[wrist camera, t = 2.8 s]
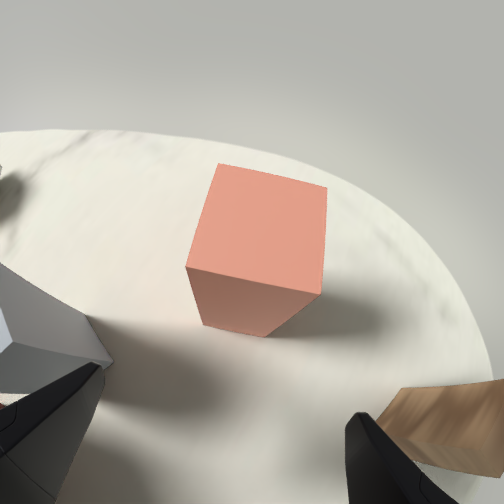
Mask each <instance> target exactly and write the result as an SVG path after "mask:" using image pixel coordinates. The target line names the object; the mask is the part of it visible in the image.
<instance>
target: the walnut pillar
mask: <svg viewBox="0 0 504 504" xmlns="http://www.w3.org/2000/svg"><path fill="white" fill-rule="evenodd" d="M375 422H376V423H377V424H378V425H379V426H380V427H381V428H382V429H383V431H384V432H385V433H386V434H387V435H388V436H389V437H390V438H391V439H392V440H393V441H394V442H395V443H396V444H397V446H398V447H399V448H400V449H401V450H402V451H403V452H404V453H405V454H406V455H407V456H408V457H409V458H410V459H411V460H414V461H417V462H421V463H425V464H428V465H432V466H436V467H440V468H444V469H448V470H453V471H458V472H463V473H468V474H473V475H480V476H486V477H494V478H500V477H501V475H502V474H503V472H504V379H501V380H494V381H487V382H480V383H472V384H463V385H453V386H440V387H421V388H401V390H400V391H399V392H398V394H397V395H396V396H395V398H394V399H393V400H392V402H391V403H390V404H389V406H388V407H387V408H386V409H385V411H384V412H383V413H382V414H381V415H380V417H379V418H378V419H377V420H376V421H375Z"/></svg>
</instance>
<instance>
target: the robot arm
mask: <svg viewBox="0 0 504 504" xmlns="http://www.w3.org/2000/svg"><path fill="white" fill-rule="evenodd" d="M104 385H105V377H104V372H103V368H102V365H101V364H98V363H96V362H93V361H90V362H88V363H86V364H85V365H83V366H81V367H79V368H77V369H75V370H74V371H72V372H70V373H68V374H66V375H64V376H63V377H61V378H59V379H57V380H55V381H53V382H51V383H50V384H48V385H46V386H44V387H42V388H40V389H38V390H37V391H35V392H33V393H31V394H29V395H27V396H25V397H23V398H21V399H20V400H18V402H17V401H16V402H14V403H12V404H10V405H8V406H6V407H4V408H2V409H0V504H55V501H56V500H55V499H56V498H57V496H58V493H59V491H60V488H61V486H62V484H63V481H64V479H65V476H66V474H67V472H68V470H69V467H70V465H71V463H72V461H73V458H74V456H75V454H76V452H77V450H78V447H79V445H80V443H81V441H82V439H83V437H84V435H85V433H86V431H87V429H88V426H89V424H90V422H91V420H92V418H93V415H94V413H95V410H96V407H97V404H98V401H99V398H100V396H101V393H102V390H103V388H104ZM345 466H346V476H347V486H348V497H349V504H459V503H458V502H456V501H455V500H454V499H452V498H451V497H450V496H449V495H447V494H446V493H445V492H444V491H442V490H441V489H440V488H439V487H438V486H436V485H435V484H434V483H433V482H432V481H431V480H430V479H429V478H428V477H427V476H426V475H425V474H424V473H423V472H421V470H420V469H419V468H418V467H417V466H416V465H415V464H414V462H413V461H412V460H411V459H410V458H409V457H408V456H407V455H406V454H405V453H404V452H403V451H402V450H401V449H400V448H399V447H398V446H397V444H396V443H395V442H394V441H393V440H392V439H391V438H390V437H389V436H388V435H387V434H386V433H385V432H384V431H383V429H382V428H381V427H380V426H379V425H378V424H377V423H376V422H375V421H374V420H373V419H372V418H371V416H370V415H369V414H368V413H366V412H357V413H355V414H354V415H353V417H352V418H351V419H350V421H349V422H348V423H347V425H346V427H345Z"/></svg>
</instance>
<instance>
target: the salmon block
mask: <svg viewBox="0 0 504 504" xmlns="http://www.w3.org/2000/svg"><path fill="white" fill-rule="evenodd" d="M326 211H327V188H326V187H322V186H318V185H314V184H311V183H307V182H303V181H299V180H295V179H290V178H286V177H282V176H278V175H273V174H269V173H264V172H260V171H255V170H250V169H245V168H240V167H235V166H230V165H225V164H220V163H218V165H217V168H216V171H215V174H214V177H213V180H212V183H211V186H210V189H209V192H208V195H207V198H206V201H205V204H204V207H203V210H202V213H201V216H200V219H199V223H198V226H197V229H196V232H195V235H194V239H193V242H192V245H191V249H190V252H189V256H188V259H187V263H186V266H185V267H186V270H187V274H188V277H189V281H190V284H191V287H192V291H193V294H194V297H195V301H196V304H197V307H198V310H199V313H200V317H201V320H202V323H203V325H206V326H210V327H215V328H219V329H224V330H229V331H234V332H238V333H244V334H249V335H254V336H259V337H266V336H267V335H268V334H270V333H271V332H272V331H274V330H275V329H277V328H278V327H279V326H281V325H282V324H283V323H285V322H286V321H287V320H289V319H290V318H291V317H293V316H294V315H295V314H297V313H298V312H299V311H300V310H302V309H303V308H304V307H306V306H307V305H308V304H309V303H311V302H312V301H313V300H315V299H316V298H317V297H318V296H320V295H321V288H322V276H323V264H324V249H325V233H326Z"/></svg>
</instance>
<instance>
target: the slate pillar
mask: <svg viewBox="0 0 504 504" xmlns="http://www.w3.org/2000/svg"><path fill="white" fill-rule="evenodd" d="M90 361H93V362H96V363H98V364H101V365H102V368H103V370H104V369H106V368H107V367H108V366H110V365H111V364H112V363H114V361H113V360H112V358H111V357H110V355H109V354H108V352H107V351H106V349H105V347H104V346H103V344H102V343H101V341H100V340H99V338H98V336H97V335H96V333H95V331H94V330H93V328H92V326H91V325H90V323H89V321H88V319H87V318H86V316H85V314H83V313H82V312H80V311H78V310H76V309H74V308H72V307H70V306H68V305H67V304H65V303H63V302H61V301H60V300H58V299H56V298H54V297H53V296H51V295H49V294H48V293H46V292H44V291H43V290H41V289H39V288H38V287H36V286H34V285H33V284H31V283H30V282H28V281H26V280H25V279H23V278H22V277H20V276H19V275H17V274H16V273H14V272H13V271H11V270H10V269H9V268H7V267H6V266H4V265H3V264H1V263H0V393H9V394H31V393H33V392H35V391H37V390H38V389H40V388H42V387H44V386H46V385H48V384H50V383H51V382H53V381H55V380H57V379H59V378H61V377H63V376H64V375H66V374H68V373H70V372H72V371H74V370H75V369H77V368H79V367H81V366H83V365H85V364H86V363H88V362H90Z"/></svg>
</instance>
